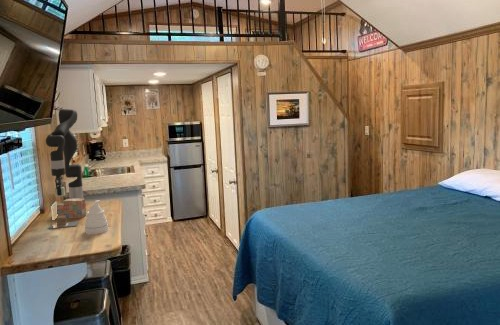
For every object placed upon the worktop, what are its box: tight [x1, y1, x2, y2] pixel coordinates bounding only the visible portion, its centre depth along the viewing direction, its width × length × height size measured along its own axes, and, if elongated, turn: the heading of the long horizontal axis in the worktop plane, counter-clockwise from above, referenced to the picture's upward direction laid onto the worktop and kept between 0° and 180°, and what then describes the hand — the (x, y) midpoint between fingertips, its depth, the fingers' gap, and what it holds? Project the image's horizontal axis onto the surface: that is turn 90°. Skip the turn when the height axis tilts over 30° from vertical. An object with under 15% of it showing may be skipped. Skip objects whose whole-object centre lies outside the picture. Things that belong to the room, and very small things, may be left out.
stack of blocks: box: [50, 198, 87, 219], centre depth 267 cm, size 21×6×12 cm, turn 88°
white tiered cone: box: [84, 199, 109, 235], centre depth 234 cm, size 13×13×18 cm
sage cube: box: [54, 186, 66, 198], centre depth 244 cm, size 5×5×5 cm
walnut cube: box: [55, 216, 68, 226], centre depth 247 cm, size 5×5×5 cm
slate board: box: [48, 220, 79, 230], centre depth 247 cm, size 10×16×1 cm, turn 108°
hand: (60, 194), depth 245 cm, fingers closed on sage cube, 5 cm apart
